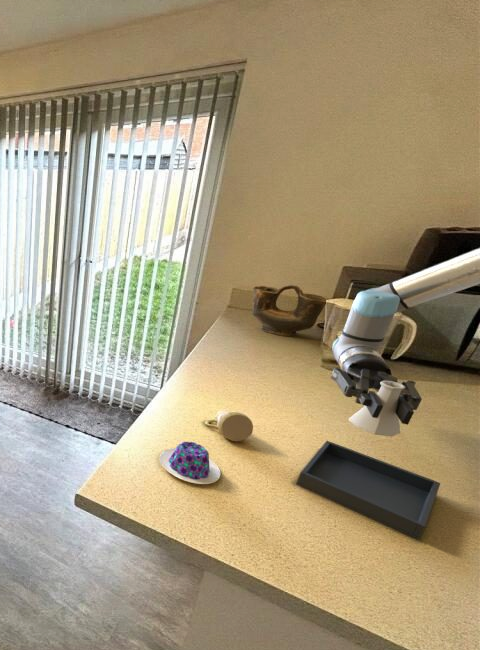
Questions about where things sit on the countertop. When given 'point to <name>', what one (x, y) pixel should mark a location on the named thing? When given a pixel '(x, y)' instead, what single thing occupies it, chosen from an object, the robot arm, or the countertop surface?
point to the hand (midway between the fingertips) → (392, 414)
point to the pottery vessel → (286, 320)
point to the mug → (232, 425)
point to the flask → (387, 418)
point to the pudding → (190, 463)
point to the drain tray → (371, 488)
